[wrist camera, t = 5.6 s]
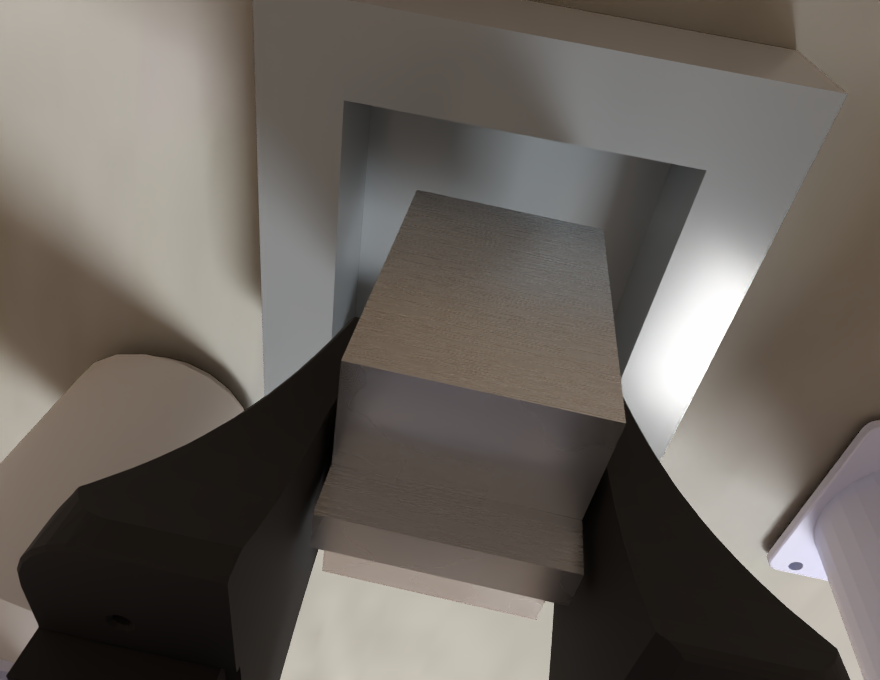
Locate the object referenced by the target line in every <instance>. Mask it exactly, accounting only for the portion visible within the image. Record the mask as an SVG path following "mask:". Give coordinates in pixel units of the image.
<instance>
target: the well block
mask: <svg viewBox="0 0 880 680" xmlns="http://www.w3.org/2000/svg"><path fill="white" fill-rule="evenodd" d="M252 1H253V33H254V66H255V99H256V132H257V164H258V197H259V230H260V262H261V295H262V328H263V361H264V393H265V396H266V395H268V394H269V393H270V392H271V391H273V390H274V389H275V388H277V387H278V386H279V385H280V384H282V383H283V382H284V381H285V380H287V379H288V378H289V377H291V376H292V375H293V374H294V373H295V372H297V371H298V370H299V369H300V368H301V367H302V366H303V365H304V364H306V363H307V362H308V361H309V360H310V359H311V358H312V357H313V356H315V355H316V354H317V353H318V352H319V351H320V350H321V349H322V348H323V347H324V346H325V345H326V344H327V343H328V342H329V341H330V340H331V339H332V338H333V337H334V336H335V335H336V334H337V333H338V332H339V331H340V330H341V329H342V328H343V327H344V326H345V325H346V324H347V322H348V321H349V320H351V319H352V318H354V317H358V318H360V317H361V315H362V312H363V310H364V308H365V306H366V303H367V301H368V299H369V297H370V294H371V292H372V290H373V288H374V285H375V283H376V281H377V279H378V276H379V274H380V272H381V270H382V267H383V265H384V263H385V261H386V258H387V256H388V254H389V252H390V249H391V247H392V245H393V243H394V240H395V238H396V236H397V234H398V231H399V229H400V227H401V225H402V222H403V220H404V218H405V216H406V213H407V211H408V209H409V207H410V204H411V202H412V200H413V198H414V195H415V193H416V191H417V190H421V191H426V192H431V193H435V194H440V195H445V196H449V197H454V198H459V199H463V200H468V201H473V202H477V203H482V204H487V205H492V206H496V207H501V208H506V209H510V210H515V211H520V212H524V213H529V214H534V215H538V216H543V217H548V218H552V219H557V220H562V221H566V222H571V223H576V224H580V225H585V226H590V227H594V228H599V229H603V232H604V240H605V249H606V257H607V266H608V274H609V283H610V291H611V300H612V308H613V317H614V325H615V334H616V342H617V351H618V359H619V368H620V376H621V385H622V393H623V397H624V399H625V401H626V403H627V405H628V407H629V409H630V411H631V413H632V415H633V417H634V419H635V420H636V422H637V424H638V426H639V428H640V429H641V431H642V433H643V435H644V436H645V438H646V440H647V442H648V443H649V445H650V447H651V448H652V450H653V452H654V453H655V455H656V457H657V458H658V460H659V462H660V460H661V458H662V457H663V455H664V453H665V451H666V449H667V447H668V445H669V443H670V441H671V439H672V437H673V435H674V433H675V431H676V429H677V427H678V425H679V423H680V421H681V419H682V417H683V415H684V414H685V412H686V410H687V408H688V406H689V404H690V402H691V400H692V398H693V396H694V394H695V392H696V390H697V388H698V386H699V384H700V382H701V380H702V378H703V376H704V374H705V372H706V371H707V369H708V367H709V365H710V363H711V361H712V359H713V357H714V355H715V353H716V351H717V349H718V347H719V345H720V343H721V341H722V339H723V337H724V335H725V333H726V331H727V329H728V327H729V326H730V324H731V322H732V320H733V318H734V316H735V314H736V312H737V310H738V308H739V306H740V304H741V302H742V300H743V298H744V296H745V294H746V292H747V290H748V288H749V286H750V284H751V283H752V281H753V279H754V277H755V275H756V273H757V271H758V269H759V267H760V265H761V263H762V261H763V259H764V257H765V255H766V253H767V251H768V249H769V247H770V245H771V243H772V241H773V240H774V238H775V236H776V234H777V232H778V230H779V228H780V226H781V224H782V222H783V220H784V218H785V216H786V214H787V212H788V210H789V208H790V206H791V204H792V202H793V200H794V198H795V197H796V195H797V193H798V191H799V189H800V187H801V185H802V183H803V181H804V179H805V177H806V175H807V173H808V171H809V169H810V167H811V165H812V163H813V161H814V159H815V157H816V155H817V154H818V152H819V150H820V148H821V146H822V144H823V142H824V140H825V138H826V136H827V134H828V132H829V130H830V128H831V126H832V124H833V122H834V120H835V118H836V116H837V114H838V112H839V110H840V109H841V107H842V105H843V103H844V101H845V99H846V97H847V95H848V94H847V93H846V92H845V91H844V90H842V89H841V88H840V87H839V86H838V85H837V84H836V83H834V82H833V81H832V80H831V79H830V78H829V77H827V76H826V75H825V74H824V73H823V72H822V71H821V70H819V69H818V68H817V67H816V66H815V65H814V64H812V63H811V62H810V61H809V60H808V59H807V58H805V57H804V56H803V55H802V54H801V53H800V52H799V51H797V50H792V49H787V48H781V47H776V46H771V45H765V44H760V43H754V42H749V41H744V40H738V39H733V38H728V37H722V36H717V35H712V34H706V33H701V32H696V31H690V30H685V29H679V28H674V27H669V26H663V25H658V24H653V23H647V22H642V21H637V20H631V19H626V18H621V17H615V16H610V15H604V14H599V13H594V12H588V11H583V10H578V9H572V8H567V7H562V6H556V5H551V4H546V3H540V2H535V1H529V0H252Z"/></svg>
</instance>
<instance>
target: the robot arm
mask: <svg viewBox="0 0 880 680" xmlns="http://www.w3.org/2000/svg"><path fill="white" fill-rule="evenodd" d="M359 319H360V318H358V317H354V318H352V319H351V320H349V321H348V322H347V324H346V325H345V326H344V327H343V328H342V329H341V330H340V331H339V332H338V333H337V334H336V335H335V336H334V337H333V338H332V339H331V340H330V341H329V342H328V343H327V344H326V345H325V346H324V347H323V348H322V349H321V350H320V351H319V352H318V353H317V354H316V355H315V356H313V357H312V358H311V359H310V360H309V361H308V362H307V363H306V364H304V365H303V366H302V367H301V368H300V369H299V370H298V371H297V372H295V373H294V374H293V375H292V376H291V377H289V378H288V379H287V380H285V381H284V382H283V383H282V384H280V385H279V386H278V387H277V388H275V389H274V390H273V391H271V392H270V393H269V394H268V395H266V396H265V397H263V398H262V399H261V400H259V401H258V402H256V403H255V404H254V405H252V406H251V407H249V408H248V409H246V410H245V411H243V412H242V413H240V414H238V415H237V416H235V417H234V418H232V419H231V420H229V421H227V422H226V423H224V424H222V425H220V426H219V427H217V428H215V429H213V430H212V431H210V432H208V433H207V434H205V435H203V436H201V437H199V438H197V439H195V440H194V441H192V442H190V443H188V444H186V445H184V446H182V447H179V448H177V449H175V450H173V451H171V452H169V453H166V454H164V455H162V456H160V457H158V458H155V459H153V460H151V461H148V462H146V463H143V464H141V465H138V466H136V467H133V468H131V469H128V470H125V471H123V472H120V473H117V474H114V475H111V476H109V477H106V478H103V479H100V480H97V481H95V482H92V483H89V484H86V485H82V486H79V487H78V488H77V489H76V490H75V491H74V493H73V494H72V495H71V496H70V497H69V498H68V499H67V500H66V501H65V502H64V503H63V504H62V505H61V506H60V507H59V508H58V510H57V511H56V512H55V513H54V514H53V516H52V517H51V518H50V519H49V521H48V522H47V523H46V524H45V526H44V527H43V528H42V530H41V531H40V532H39V534H38V535H37V536H36V538H35V539H34V540H33V542H32V543H31V544H30V545H29V547H28V548H27V549H26V551H25V552H24V553H23V555H22V556H21V557H20V560H19V563H18V566H17V572H18V577H19V581H20V585H21V588H22V590H23V592H24V594H25V597H26V599H27V601H28V603H29V606H30V608H31V610H32V612H33V614H34V617H35V619H36V621H37V623H38V626H39V627H38V629H37V630H36V632H35V633H34V635H33V636H32V638H31V639H30V641H29V642H28V644H27V645H26V647H25V648H24V650H23V651H22V653H21V654H20V656H19V657H18V659H17V660H16V662H15V663H14V662H10V661H5V660H1V659H0V680H280V677H281V673H282V670H283V666H284V663H285V659H286V656H287V653H288V649H289V646H290V642H291V639H292V635H293V632H294V628H295V625H296V621H297V618H298V615H299V611H300V608H301V605H302V601H303V598H304V594H305V591H306V588H307V584H308V581H309V578H310V575H311V571H312V568H313V565H314V562H315V558H316V555H317V552H318V549H317V548H312V547H310V545H311V531H312V516H313V512H314V509H315V506H316V504H317V501H318V499H319V496H320V493H321V491H322V488H323V485H324V483H325V480H326V478H327V475H328V472H329V470H330V467H331V465H332V457H333V445H334V434H335V423H336V412H337V401H338V389H339V378H340V367H341V360H342V357H343V355H344V353H345V351H346V348H347V346H348V344H349V342H350V339H351V337H352V335H353V333H354V330H355V328H356V326H357V324H358V321H359ZM623 402H624V410H625V419H626V425H625V427H624V429H623V431H622V433H621V436H620V438H619V440H618V442H617V444H616V447H615V449H614V451H613V453H612V455H611V458H610V460H609V462H608V464H607V466H606V469H605V471H604V473H603V475H602V477H601V479H600V482H599V484H598V486H597V488H596V490H595V493H594V495H593V497H592V499H591V501H590V504H589V506H588V508H587V510H586V512H585V515H584V517H583V519H582V533H583V563H584V576H583V578H582V580H581V582H580V584H579V586H578V588H577V590H576V592H575V594H574V596H573V598H572V600H571V602H570V604H569V606H566V605H562V604H558V603H554V615H553V632H552V646H551V660H550V673H549V680H850V678H849V676H848V673H847V671H846V669H845V666H844V664H843V662H842V659H841V657H840V655H839V652H838V650H837V648H835V647H834V646H833V645H832V644H831V643H829V642H828V641H827V640H826V639H825V638H823V637H822V636H821V635H820V634H818V633H817V632H816V631H815V630H814V629H812V628H811V627H810V626H809V625H808V624H806V623H805V622H804V621H803V620H802V619H800V618H799V617H798V616H797V615H796V614H794V613H793V612H792V611H791V610H790V609H788V608H787V607H786V606H785V605H784V604H783V603H782V602H781V601H780V600H778V599H777V598H776V597H775V596H774V595H773V594H772V593H771V592H770V591H769V590H768V589H767V588H766V587H765V586H763V585H762V584H761V583H760V582H759V581H758V580H757V579H756V578H755V577H754V576H753V575H752V574H751V573H750V572H749V571H748V570H747V569H746V568H745V567H744V566H743V565H742V564H741V563H740V562H739V561H738V560H737V559H736V558H735V557H734V556H733V554H732V553H731V552H730V551H729V550H728V549H727V548H726V547H725V546H724V545H723V544H722V543H721V541H720V540H719V539H718V538H717V537H716V536H715V535H714V534H713V533H712V531H711V530H710V529H709V528H708V527H707V526H706V524H705V523H704V522H703V521H702V520H701V518H700V517H699V516H698V515H697V513H696V512H695V511H694V509H693V508H692V507H691V506H690V504H689V503H688V502H687V501H686V499H685V498H684V497H683V495H682V494H681V493H680V491H679V490H678V489H677V487H676V486H675V484H674V483H673V481H672V480H671V478H670V477H669V475H668V474H667V472H666V471H665V469H664V468H663V466H662V465H661V463H660V462H659V460H658V458H657V457H656V455H655V453H654V452H653V450H652V448H651V447H650V445H649V443H648V442H647V440H646V438H645V436H644V435H643V433H642V431H641V429H640V428H639V426H638V424H637V422H636V420H635V419H634V417H633V415H632V413H631V411H630V409H629V407H628V405H627V403H626V401H625V399H624V397H623ZM767 559H768V562H769V566H771V567H772V568H773V569H776V570H780V571H785V572H789V573H794V574H799V575H803V576H808V577H813V578H817V579H822V580H827V581H829V584H830V587H831V589H832V592H833V595H834V598H835V600H836V603H837V606H838V609H839V611H840V614H841V617H842V620H843V622H844V625H845V628H846V631H847V634H848V636H849V639H850V642H851V645H852V647H853V650H854V653H855V656H856V658H857V661H858V664H859V667H860V669H861V672H862V675H863V678H864V680H880V420H877V421H872V422H870V423H868V424H866V425H865V426H864V427H863V428H862V429H861V431H860V432H859V433H858V434H857V436H856V437H855V438H854V440H853V441H852V442H851V444H850V445H849V446H848V448H847V449H846V450H845V452H844V453H843V454H842V456H841V457H840V458H839V460H838V461H837V462H836V464H835V465H834V466H833V468H832V469H831V470H830V472H829V473H828V474H827V476H826V477H825V478H824V479H823V481H822V482H821V483H820V485H819V486H818V487H817V489H816V490H815V491H814V493H813V494H812V495H811V497H810V498H809V499H808V501H807V502H806V503H805V505H804V506H803V507H802V509H801V510H800V511H799V513H798V514H797V515H796V517H795V518H794V519H793V521H792V522H791V523H790V524H789V526H788V527H787V528H786V530H785V531H784V532H783V534H782V535H781V536H780V538H779V539H778V540H777V542H776V543H775V544H774V546H773V547H772V548H771V550H770V551H769V552H768V554H767Z"/></svg>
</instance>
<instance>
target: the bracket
mask: <svg viewBox="0 0 880 680" xmlns="http://www.w3.org/2000/svg"><path fill="white" fill-rule="evenodd" d="M625 425H626V419H625V410H624V402H623V393H622V385H621V376H620V368H619V359H618V351H617V342H616V334H615V325H614V317H613V308H612V300H611V291H610V283H609V274H608V266H607V257H606V249H605V240H604V232H603V229H599V228H594V227H590V226H585V225H580V224H576V223H571V222H566V221H562V220H557V219H552V218H548V217H543V216H538V215H534V214H529V213H524V212H520V211H515V210H510V209H506V208H501V207H496V206H492V205H487V204H482V203H477V202H473V201H468V200H463V199H459V198H454V197H449V196H445V195H440V194H435V193H431V192H426V191H421V190H417V191H416V193H415V195H414V198H413V200H412V202H411V204H410V207H409V209H408V211H407V213H406V216H405V218H404V220H403V222H402V225H401V227H400V229H399V231H398V234H397V236H396V238H395V240H394V243H393V245H392V247H391V249H390V252H389V254H388V256H387V258H386V261H385V263H384V265H383V267H382V270H381V272H380V274H379V276H378V279H377V281H376V283H375V285H374V288H373V290H372V292H371V294H370V297H369V299H368V301H367V303H366V306H365V308H364V310H363V312H362V315H361V317H360V319H359V321H358V324H357V326H356V328H355V330H354V333H353V335H352V337H351V339H350V342H349V344H348V346H347V348H346V351H345V353H344V355H343V357H342V360H341V367H340V378H339V389H338V401H337V412H336V423H335V434H334V445H333V457H332V465H331V467H330V470H329V472H328V475H327V478H326V480H325V483H324V485H323V488H322V491H321V493H320V496H319V499H318V501H317V504H316V506H315V509H314V512H313V516H312V531H311V545H310V547H312V548H317V549H321V550H324V558H323V569H322V571H325V572H330V573H334V574H338V575H343V576H347V577H351V578H356V579H360V580H364V581H369V582H373V583H378V584H382V585H386V586H391V587H395V588H399V589H404V590H408V591H412V592H417V593H421V594H426V595H430V596H434V597H439V598H443V599H447V600H452V601H456V602H460V603H465V604H469V605H474V606H478V607H482V608H487V609H491V610H495V611H500V612H504V613H508V614H513V615H517V616H522V617H526V618H530V619H535V620H537V618H538V615H539V613H540V611H541V609H542V607H543V604H544V602H545V601H549V602H553V603H558V604H562V605H566V606H569V604H570V602H571V600H572V598H573V596H574V594H575V592H576V590H577V588H578V586H579V584H580V582H581V580H582V578H583V576H584V563H583V533H582V519H583V517H584V515H585V512H586V510H587V508H588V506H589V504H590V501H591V499H592V497H593V495H594V493H595V490H596V488H597V486H598V484H599V482H600V479H601V477H602V475H603V473H604V471H605V469H606V466H607V464H608V462H609V460H610V458H611V455H612V453H613V451H614V449H615V447H616V444H617V442H618V440H619V438H620V436H621V433H622V431H623V429H624V427H625Z"/></svg>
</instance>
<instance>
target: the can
mask: <svg viewBox="0 0 880 680" xmlns="http://www.w3.org/2000/svg"><path fill="white" fill-rule="evenodd" d="M243 411H244V409H243V407H242V405H241V404H240V403H239V402H238V400H237V399H236V398H235V396H234V395H233V394H232V393H231V391H230V390H229V389H228V388H227V387H225V386H224V385H223V384H222V383H220V382H219V381H218V380H216V379H215V378H214V377H213V376H211V375H210V374H208V373H206V372H204V371H202V370H200V369H198V368H196V367H194V366H192V365H190V364H188V363H186V362H182V361H178V360H174V359H170V358H166V357H155V356H151V355H147V354H117V355H114V356H111V357H108V358H106V359H103V360H100V361H97V362H94V363H93V364H92V365H91V366H90V367H89V368H88V369H87V370H86V371H85V372H84V373H83V374H82V375H81V376H80V377H79V378H78V379H77V380H76V381H75V382H74V384H73V385H72V386H71V387H70V388H69V389H68V390H67V391H66V392H65V393H64V394H63V396H62V397H61V398H60V399H59V400H58V401H57V402H56V403H55V404H54V405H53V407H52V408H51V409H50V410H49V411H48V412H47V413H46V414H45V415H44V416H43V417H42V419H41V420H40V421H39V422H38V423H37V424H36V425H35V426H34V427H33V428H32V429H31V431H30V432H29V433H28V434H27V435H26V436H25V437H24V438H23V439H22V440H21V441H20V443H19V444H18V445H17V446H16V447H15V448H14V449H13V450H12V451H11V452H10V454H9V455H8V456H7V457H6V458H5V459H4V460H3V461H2V462H1V463H0V659H1V660H5V661H10V662H14V663H15V662H16V660H17V659H18V657H19V656H20V654H21V653H22V651H23V650H24V648H25V647H26V645H27V644H28V642H29V641H30V639H31V638H32V636H33V635H34V633H35V632H36V630H37V629H38V627H39V626H38V623H37V621H36V619H35V617H34V614H33V612H32V610H31V608H30V606H29V603H28V601H27V599H26V597H25V594H24V592H23V590H22V588H21V585H20V581H19V577H18V572H17V566H18V563H19V560H20V557H21V556H22V555H23V553H24V552H25V551H26V549H27V548H28V547H29V545H30V544H31V543H32V542H33V540H34V539H35V538H36V536H37V535H38V534H39V532H40V531H41V530H42V528H43V527H44V526H45V524H46V523H47V522H48V521H49V519H50V518H51V517H52V516H53V514H54V513H55V512H56V511H57V510H58V508H59V507H60V506H61V505H62V504H63V503H64V502H65V501H66V500H67V499H68V498H69V497H70V496H71V495H72V494H73V493H74V491H75V490H76V489H77V488H78V487H79V486H82V485H86V484H89V483H92V482H95V481H97V480H100V479H103V478H106V477H109V476H111V475H114V474H117V473H120V472H123V471H125V470H128V469H131V468H133V467H136V466H138V465H141V464H143V463H146V462H148V461H151V460H153V459H155V458H158V457H160V456H162V455H164V454H166V453H169V452H171V451H173V450H175V449H177V448H179V447H182V446H184V445H186V444H188V443H190V442H192V441H194V440H195V439H197V438H199V437H201V436H203V435H205V434H207V433H208V432H210V431H212V430H213V429H215V428H217V427H219V426H220V425H222V424H224V423H226V422H227V421H229V420H231V419H232V418H234V417H235V416H237V415H238V414H240V413H242V412H243Z"/></svg>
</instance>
